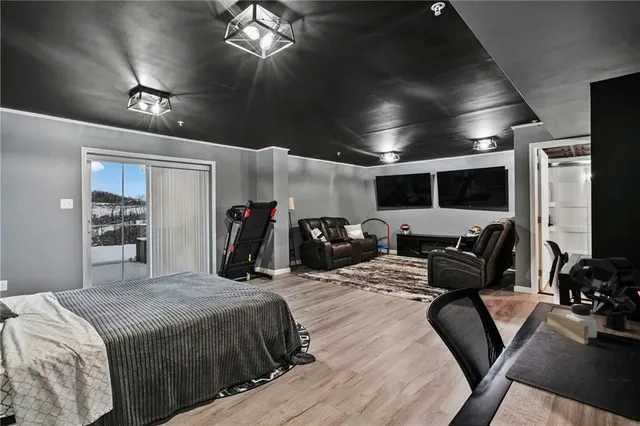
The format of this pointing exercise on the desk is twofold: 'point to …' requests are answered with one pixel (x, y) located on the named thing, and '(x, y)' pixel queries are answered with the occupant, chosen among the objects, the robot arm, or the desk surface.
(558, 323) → the oak wall
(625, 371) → the desk surface
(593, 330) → the medicine bottle
